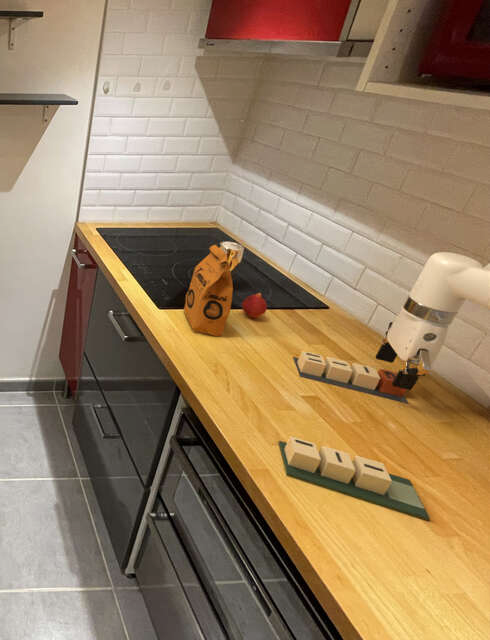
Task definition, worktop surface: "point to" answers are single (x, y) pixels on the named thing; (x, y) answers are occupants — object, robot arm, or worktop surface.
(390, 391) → the orange cube
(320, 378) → the word board
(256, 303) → the onion
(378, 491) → the word board
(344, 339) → the worktop surface
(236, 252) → the beer glass
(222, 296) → the coffee package
